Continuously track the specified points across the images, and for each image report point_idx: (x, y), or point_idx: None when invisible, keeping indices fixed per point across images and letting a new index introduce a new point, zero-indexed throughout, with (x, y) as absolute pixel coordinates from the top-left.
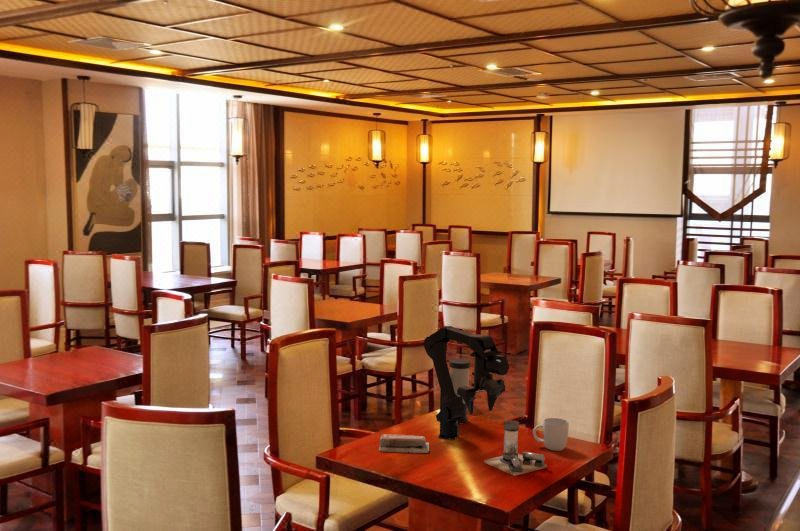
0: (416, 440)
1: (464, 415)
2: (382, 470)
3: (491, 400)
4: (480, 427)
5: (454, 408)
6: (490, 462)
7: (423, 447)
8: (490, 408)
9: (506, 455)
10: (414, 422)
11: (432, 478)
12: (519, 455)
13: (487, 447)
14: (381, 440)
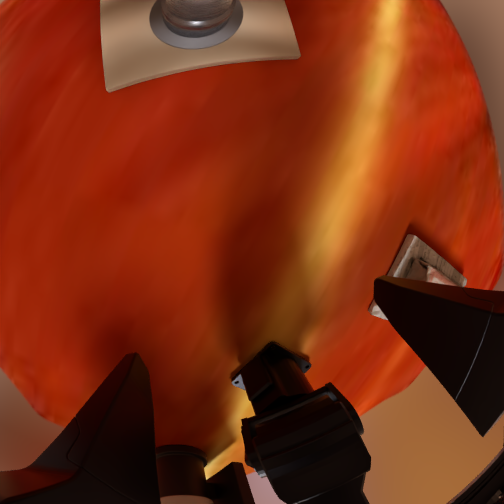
0: (441, 273)
1: (167, 465)
2: (493, 166)
3: (119, 451)
4: None
5: (341, 428)
6: (289, 28)
7: (417, 258)
8: (137, 374)
9: None
10: None
11: (452, 66)
12: (116, 54)
13: (181, 223)
14: None
